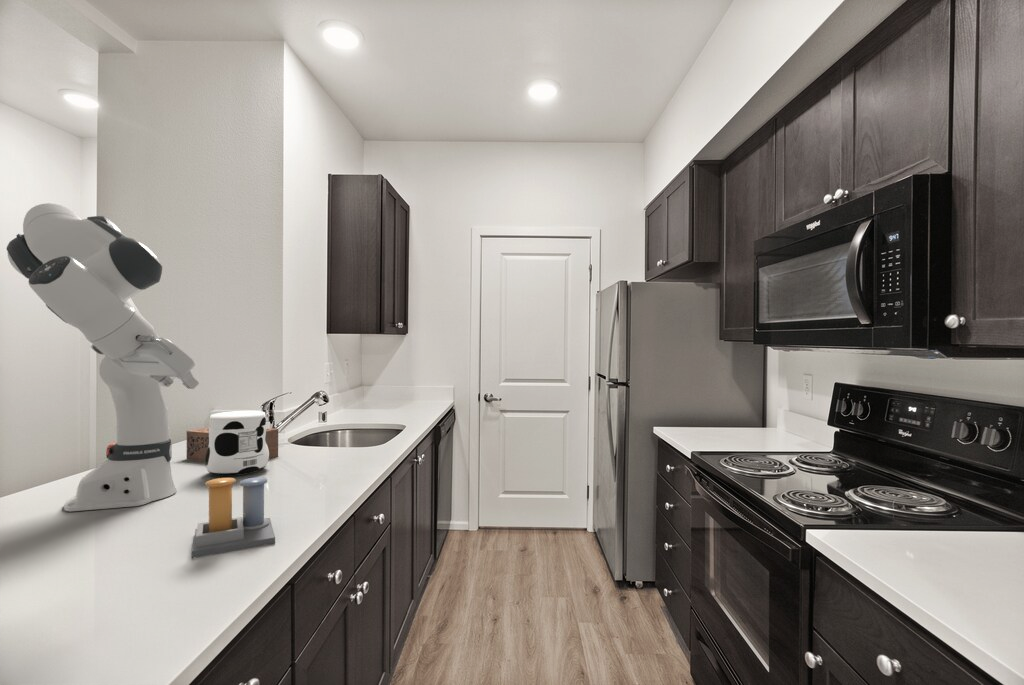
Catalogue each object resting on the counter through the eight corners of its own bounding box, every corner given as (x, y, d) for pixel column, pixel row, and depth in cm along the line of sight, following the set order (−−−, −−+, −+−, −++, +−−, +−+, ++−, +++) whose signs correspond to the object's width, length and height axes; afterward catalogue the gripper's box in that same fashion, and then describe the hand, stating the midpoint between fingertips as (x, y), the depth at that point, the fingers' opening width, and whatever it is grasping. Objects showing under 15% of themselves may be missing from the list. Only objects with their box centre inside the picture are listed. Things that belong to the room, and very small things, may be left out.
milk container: (227, 465, 165) (227, 410, 165) (279, 465, 164) (279, 410, 164) (191, 479, 148) (192, 418, 148) (250, 480, 147) (250, 418, 147)
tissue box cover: (278, 457, 178) (278, 428, 178) (244, 466, 164) (244, 435, 164) (223, 451, 186) (223, 424, 186) (186, 460, 173) (186, 431, 173)
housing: (192, 557, 94) (192, 500, 94) (195, 534, 105) (195, 483, 105) (275, 543, 101) (275, 489, 101) (269, 523, 112) (270, 474, 112)
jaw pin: (204, 542, 98) (204, 485, 98) (205, 534, 102) (205, 479, 102) (235, 537, 100) (235, 482, 100) (235, 529, 105) (235, 476, 105)
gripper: (167, 323, 90) (222, 375, 99) (114, 325, 101) (167, 372, 109) (139, 348, 86) (198, 400, 95) (86, 348, 97) (144, 394, 105)
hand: (181, 385), depth 102 cm, fingers open, 8 cm apart
